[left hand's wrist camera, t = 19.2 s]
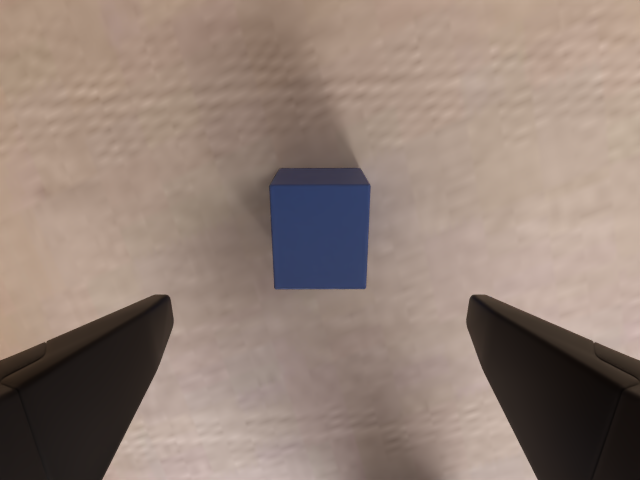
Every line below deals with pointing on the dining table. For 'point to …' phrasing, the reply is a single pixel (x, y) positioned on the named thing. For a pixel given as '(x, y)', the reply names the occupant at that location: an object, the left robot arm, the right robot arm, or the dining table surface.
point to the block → (320, 228)
